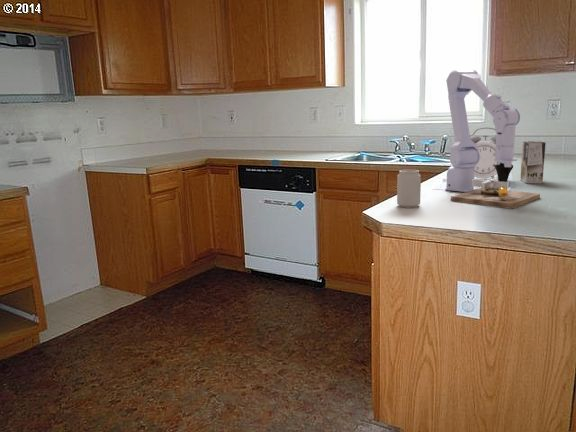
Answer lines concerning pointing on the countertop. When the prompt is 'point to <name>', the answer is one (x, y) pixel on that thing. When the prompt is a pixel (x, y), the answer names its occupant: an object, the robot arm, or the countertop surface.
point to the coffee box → (532, 161)
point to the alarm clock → (485, 156)
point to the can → (408, 188)
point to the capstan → (492, 186)
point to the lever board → (496, 198)
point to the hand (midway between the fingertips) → (502, 185)
